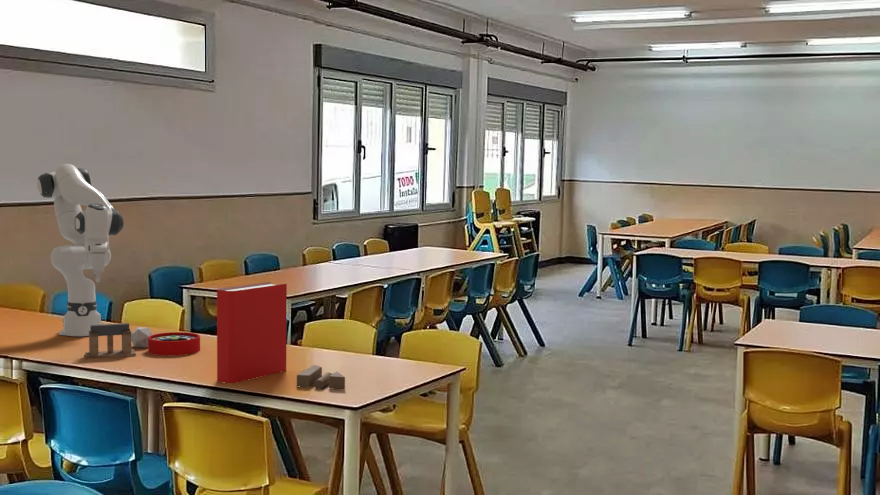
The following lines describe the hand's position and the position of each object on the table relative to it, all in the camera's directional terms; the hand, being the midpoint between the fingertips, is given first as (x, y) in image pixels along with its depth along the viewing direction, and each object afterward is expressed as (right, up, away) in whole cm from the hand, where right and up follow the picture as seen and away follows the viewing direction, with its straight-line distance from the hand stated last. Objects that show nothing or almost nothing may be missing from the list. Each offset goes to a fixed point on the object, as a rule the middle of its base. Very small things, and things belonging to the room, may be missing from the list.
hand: (97, 280), depth 372 cm
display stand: (+8, -29, -9) cm, 31 cm away
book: (+69, -33, -38) cm, 85 cm away
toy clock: (+30, -29, +3) cm, 41 cm away
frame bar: (+8, -21, -9) cm, 24 cm away
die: (+15, -28, +9) cm, 33 cm away
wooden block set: (+97, -35, -47) cm, 113 cm away
